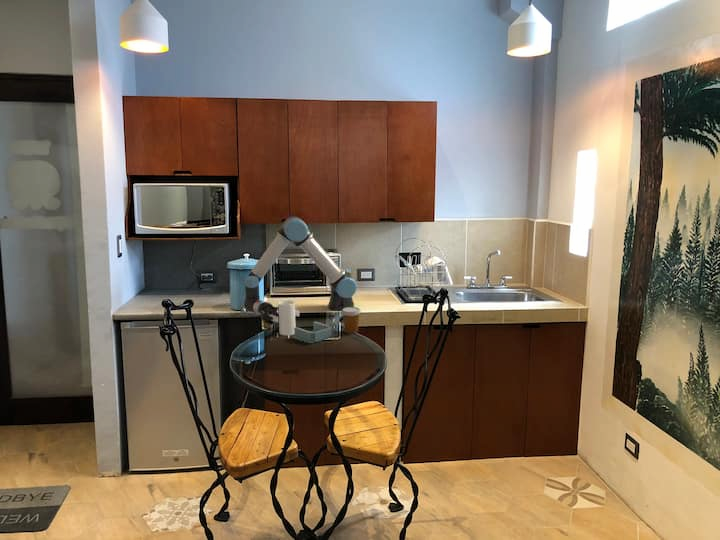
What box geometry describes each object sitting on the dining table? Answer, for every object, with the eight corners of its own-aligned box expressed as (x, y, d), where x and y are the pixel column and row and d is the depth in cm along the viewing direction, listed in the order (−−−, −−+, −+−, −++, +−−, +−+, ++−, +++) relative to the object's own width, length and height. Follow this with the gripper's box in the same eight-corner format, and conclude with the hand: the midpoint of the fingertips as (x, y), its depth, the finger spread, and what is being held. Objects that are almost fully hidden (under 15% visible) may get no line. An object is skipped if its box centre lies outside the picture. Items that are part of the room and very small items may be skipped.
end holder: (317, 330, 291) (317, 320, 290) (335, 336, 281) (335, 326, 280) (293, 337, 280) (292, 328, 279) (311, 344, 270) (311, 334, 269)
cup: (292, 329, 293) (291, 299, 289) (298, 333, 285) (296, 303, 282) (277, 331, 289) (276, 301, 286) (282, 336, 282) (281, 305, 279)
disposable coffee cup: (358, 335, 282) (358, 312, 279) (340, 334, 284) (339, 311, 281) (362, 329, 291) (362, 307, 288) (344, 328, 293) (344, 306, 290)
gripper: (282, 310, 308) (307, 318, 294) (243, 320, 291) (268, 329, 276) (282, 297, 307) (307, 304, 292) (243, 306, 289) (267, 314, 275)
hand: (288, 316), depth 284 cm, fingers open, 13 cm apart
